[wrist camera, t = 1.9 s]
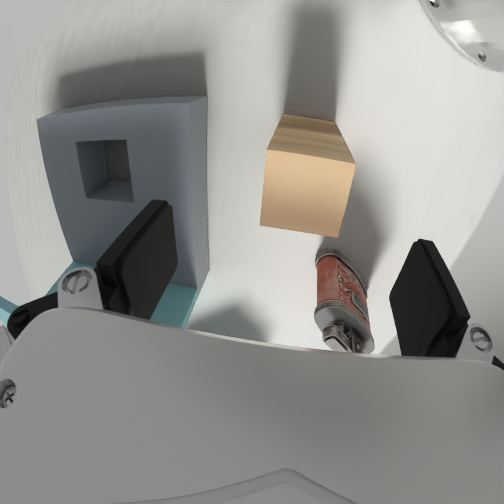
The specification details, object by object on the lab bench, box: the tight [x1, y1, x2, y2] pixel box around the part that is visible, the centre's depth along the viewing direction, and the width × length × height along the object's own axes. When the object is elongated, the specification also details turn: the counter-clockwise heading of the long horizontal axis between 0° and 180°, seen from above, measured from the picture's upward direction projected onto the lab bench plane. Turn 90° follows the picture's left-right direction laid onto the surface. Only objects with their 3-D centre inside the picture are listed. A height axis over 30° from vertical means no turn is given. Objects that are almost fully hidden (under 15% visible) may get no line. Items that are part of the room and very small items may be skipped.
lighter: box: [314, 248, 374, 354], centre depth 24 cm, size 8×3×10 cm, turn 41°
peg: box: [260, 114, 356, 238], centre depth 17 cm, size 4×4×10 cm
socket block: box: [0, 96, 209, 328], centre depth 20 cm, size 18×17×16 cm
